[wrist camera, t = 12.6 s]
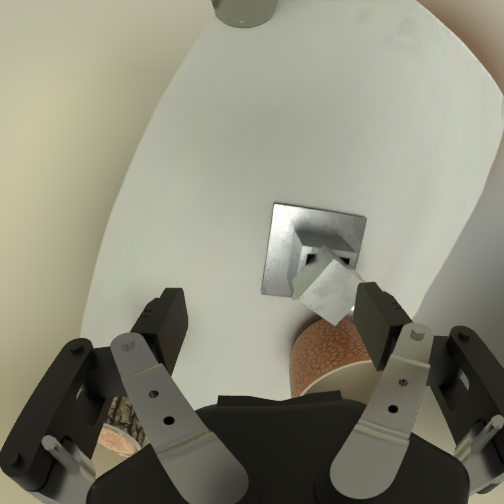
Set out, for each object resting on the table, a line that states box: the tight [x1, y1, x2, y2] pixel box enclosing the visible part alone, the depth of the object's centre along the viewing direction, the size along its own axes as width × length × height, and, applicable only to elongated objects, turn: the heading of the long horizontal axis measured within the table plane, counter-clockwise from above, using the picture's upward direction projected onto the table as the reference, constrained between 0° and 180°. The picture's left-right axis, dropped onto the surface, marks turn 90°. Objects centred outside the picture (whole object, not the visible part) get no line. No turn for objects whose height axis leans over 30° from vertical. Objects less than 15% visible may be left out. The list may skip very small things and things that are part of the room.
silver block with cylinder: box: [292, 244, 365, 326], centre depth 35 cm, size 9×6×11 cm, turn 53°
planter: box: [289, 318, 384, 405], centre depth 40 cm, size 17×17×15 cm
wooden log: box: [97, 396, 146, 457], centre depth 35 cm, size 7×7×25 cm
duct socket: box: [261, 203, 367, 300], centre depth 38 cm, size 14×14×8 cm
